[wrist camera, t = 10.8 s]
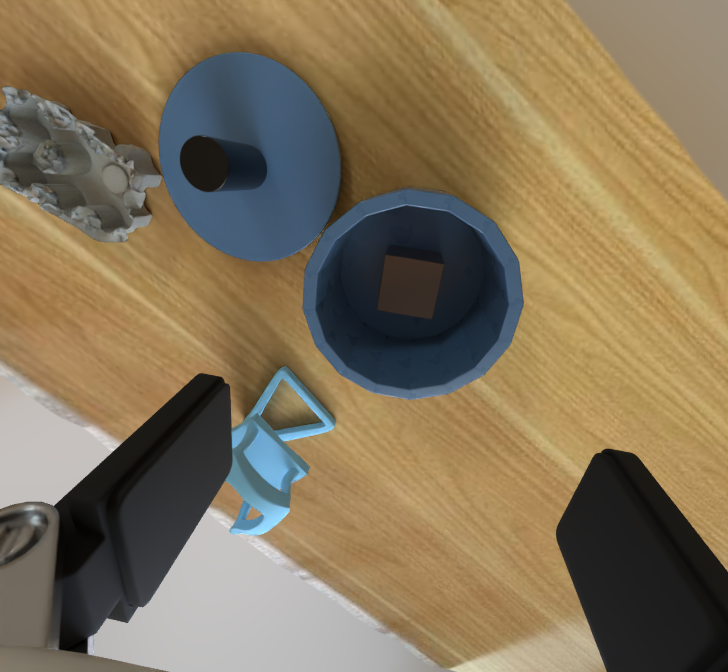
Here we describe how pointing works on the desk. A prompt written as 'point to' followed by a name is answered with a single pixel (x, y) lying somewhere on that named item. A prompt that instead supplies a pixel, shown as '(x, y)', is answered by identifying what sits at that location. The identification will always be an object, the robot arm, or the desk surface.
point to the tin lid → (250, 156)
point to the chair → (270, 459)
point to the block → (410, 281)
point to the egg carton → (73, 167)
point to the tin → (403, 332)
